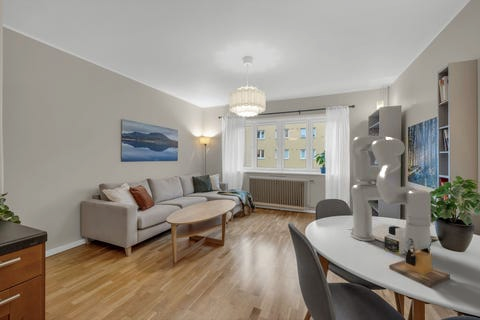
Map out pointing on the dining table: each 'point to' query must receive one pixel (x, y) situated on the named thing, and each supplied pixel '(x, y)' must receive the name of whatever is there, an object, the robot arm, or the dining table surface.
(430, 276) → the walnut board
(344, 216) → the dining table surface
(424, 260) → the plain orange cube
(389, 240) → the medicine bottle
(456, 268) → the dining table surface
